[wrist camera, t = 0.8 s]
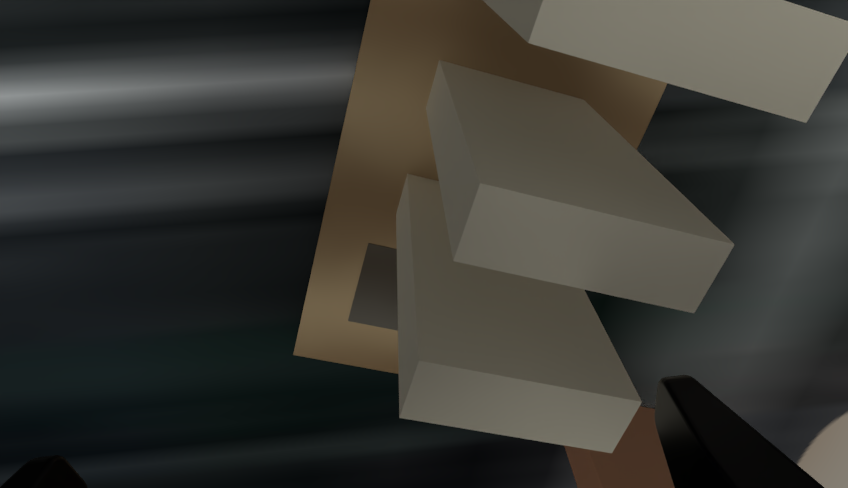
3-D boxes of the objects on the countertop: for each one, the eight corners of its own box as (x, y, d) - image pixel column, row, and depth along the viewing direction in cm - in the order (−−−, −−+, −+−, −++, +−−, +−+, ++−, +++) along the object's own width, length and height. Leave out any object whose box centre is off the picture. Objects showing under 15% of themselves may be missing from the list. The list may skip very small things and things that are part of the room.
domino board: (518, 380, 27) (522, 396, 26) (296, 339, 25) (292, 355, 24) (863, -385, 15) (894, -405, 14) (492, -558, 14) (499, -592, 13)
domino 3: (525, 243, 22) (611, 453, 14) (395, 214, 22) (399, 417, 13) (540, 205, 22) (642, 402, 13) (407, 173, 21) (419, 360, 12)
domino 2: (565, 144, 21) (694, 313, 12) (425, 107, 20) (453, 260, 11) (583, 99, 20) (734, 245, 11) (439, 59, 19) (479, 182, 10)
